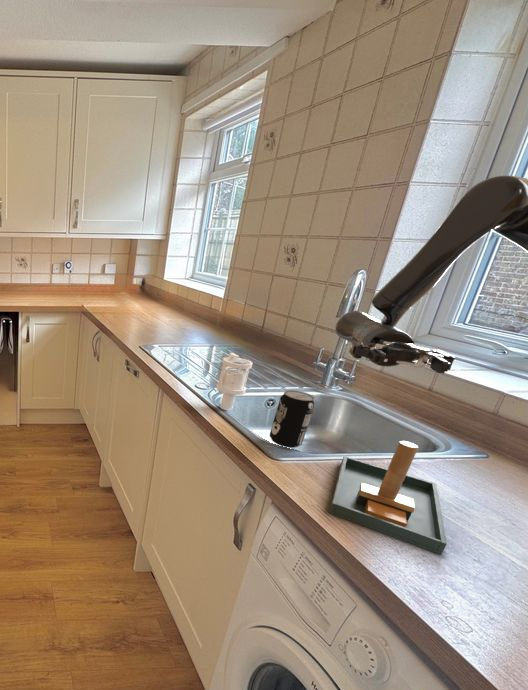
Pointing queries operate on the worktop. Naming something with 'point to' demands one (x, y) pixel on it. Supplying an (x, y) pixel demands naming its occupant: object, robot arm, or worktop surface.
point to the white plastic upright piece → (232, 379)
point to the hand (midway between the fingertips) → (412, 363)
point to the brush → (392, 482)
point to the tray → (427, 514)
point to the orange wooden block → (386, 513)
